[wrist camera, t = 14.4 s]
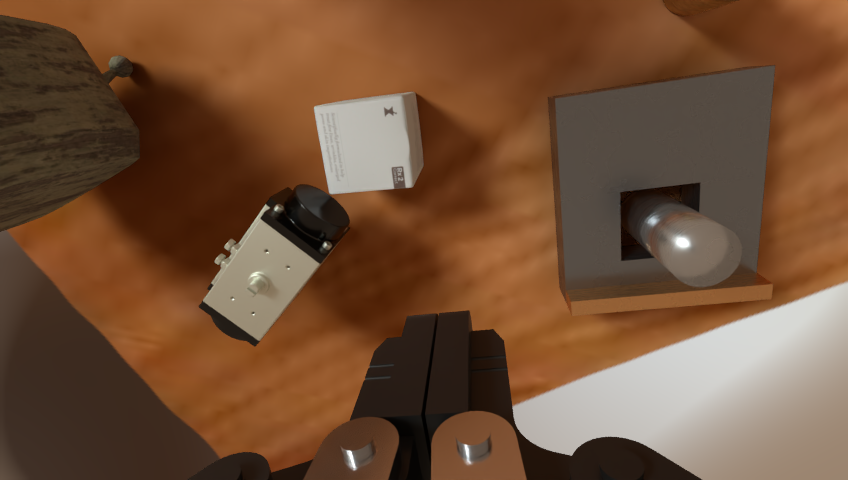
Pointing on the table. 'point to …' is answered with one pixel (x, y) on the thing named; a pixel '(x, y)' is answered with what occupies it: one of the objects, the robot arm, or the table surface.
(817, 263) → the table surface
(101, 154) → the olive green lantern
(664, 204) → the translucent grey cylinder
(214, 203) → the table surface
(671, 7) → the brass bushing
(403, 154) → the skincare box
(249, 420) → the table surface
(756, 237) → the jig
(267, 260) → the pneumatic valve
